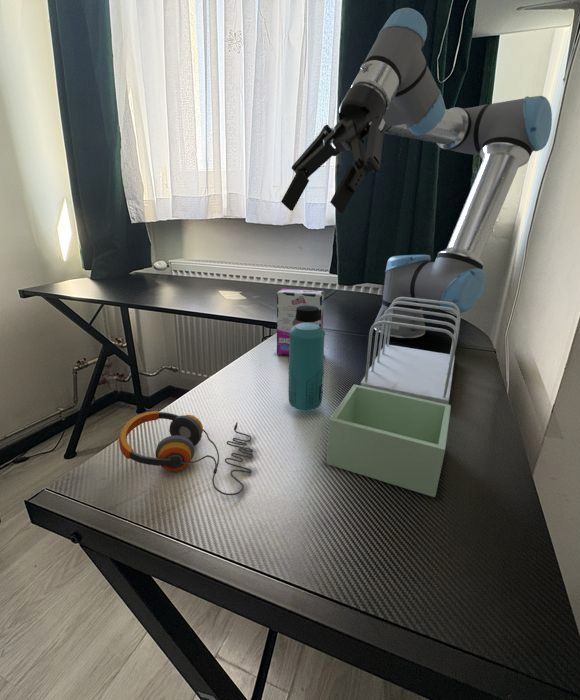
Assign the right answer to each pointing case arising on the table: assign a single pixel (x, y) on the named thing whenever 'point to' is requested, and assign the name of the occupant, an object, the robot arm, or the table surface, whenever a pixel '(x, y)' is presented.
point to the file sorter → (412, 357)
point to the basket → (390, 438)
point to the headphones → (178, 444)
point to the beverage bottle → (306, 360)
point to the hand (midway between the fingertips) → (309, 207)
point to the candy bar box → (294, 313)
